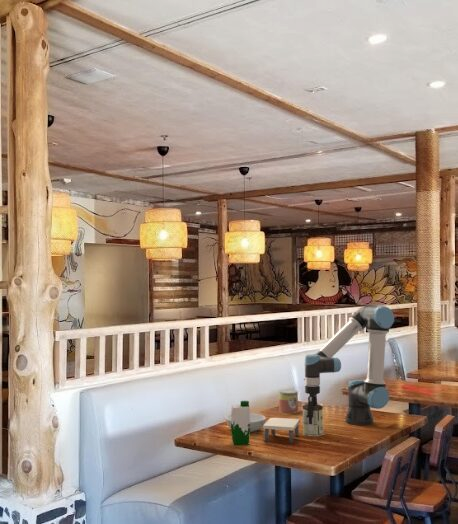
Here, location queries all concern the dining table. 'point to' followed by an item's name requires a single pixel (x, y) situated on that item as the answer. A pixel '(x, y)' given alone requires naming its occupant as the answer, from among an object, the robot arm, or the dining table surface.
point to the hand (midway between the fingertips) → (312, 427)
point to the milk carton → (240, 423)
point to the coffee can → (317, 421)
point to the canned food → (288, 401)
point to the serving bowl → (251, 421)
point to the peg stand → (281, 427)
